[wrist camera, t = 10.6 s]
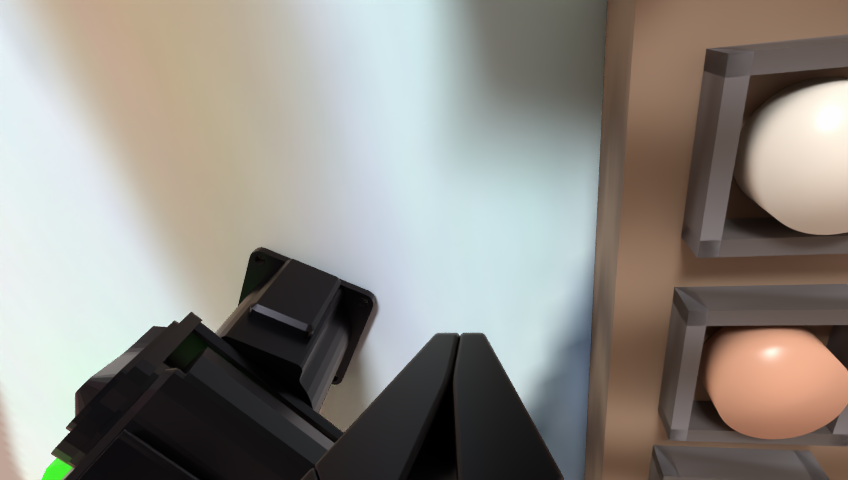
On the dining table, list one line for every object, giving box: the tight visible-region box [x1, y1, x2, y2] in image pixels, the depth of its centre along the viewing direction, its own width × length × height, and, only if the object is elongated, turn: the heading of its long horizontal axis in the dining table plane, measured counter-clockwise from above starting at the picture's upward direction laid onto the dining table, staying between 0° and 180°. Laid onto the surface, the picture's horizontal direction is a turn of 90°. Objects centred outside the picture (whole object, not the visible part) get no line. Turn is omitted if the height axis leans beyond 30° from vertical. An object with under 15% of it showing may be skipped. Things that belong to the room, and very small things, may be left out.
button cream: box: [733, 76, 848, 235], centre depth 13 cm, size 4×4×2 cm
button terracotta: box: [698, 325, 848, 439], centre depth 17 cm, size 4×4×2 cm
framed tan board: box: [584, 0, 848, 480], centre depth 19 cm, size 26×10×6 cm, turn 6°
